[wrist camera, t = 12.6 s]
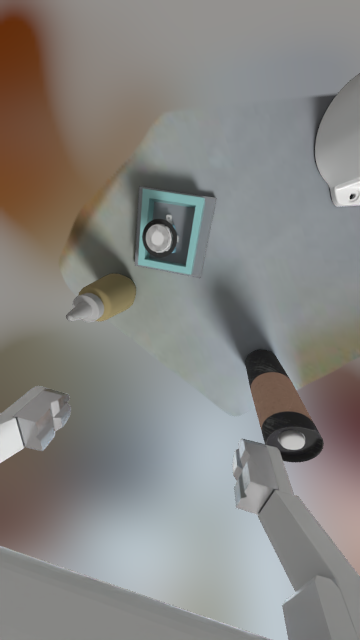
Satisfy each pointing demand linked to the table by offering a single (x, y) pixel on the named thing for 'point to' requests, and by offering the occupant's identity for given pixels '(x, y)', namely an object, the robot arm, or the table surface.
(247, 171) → the table surface
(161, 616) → the robot arm
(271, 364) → the travel mug
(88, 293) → the squeeze bottle
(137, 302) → the table surface
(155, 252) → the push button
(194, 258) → the socket plate
